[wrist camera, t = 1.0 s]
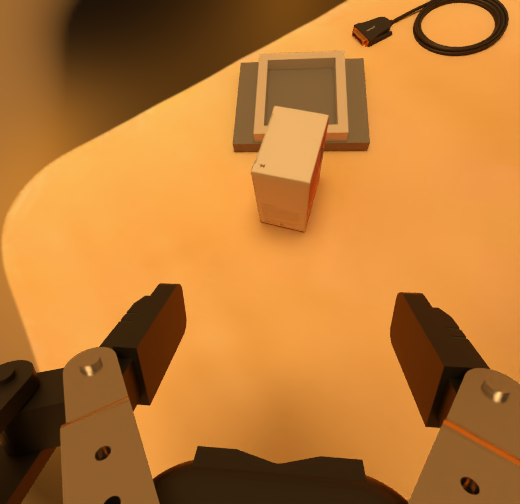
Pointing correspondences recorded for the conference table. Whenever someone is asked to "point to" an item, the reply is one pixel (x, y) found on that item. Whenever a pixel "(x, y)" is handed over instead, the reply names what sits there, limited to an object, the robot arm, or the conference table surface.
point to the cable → (381, 26)
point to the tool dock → (303, 97)
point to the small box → (289, 166)
